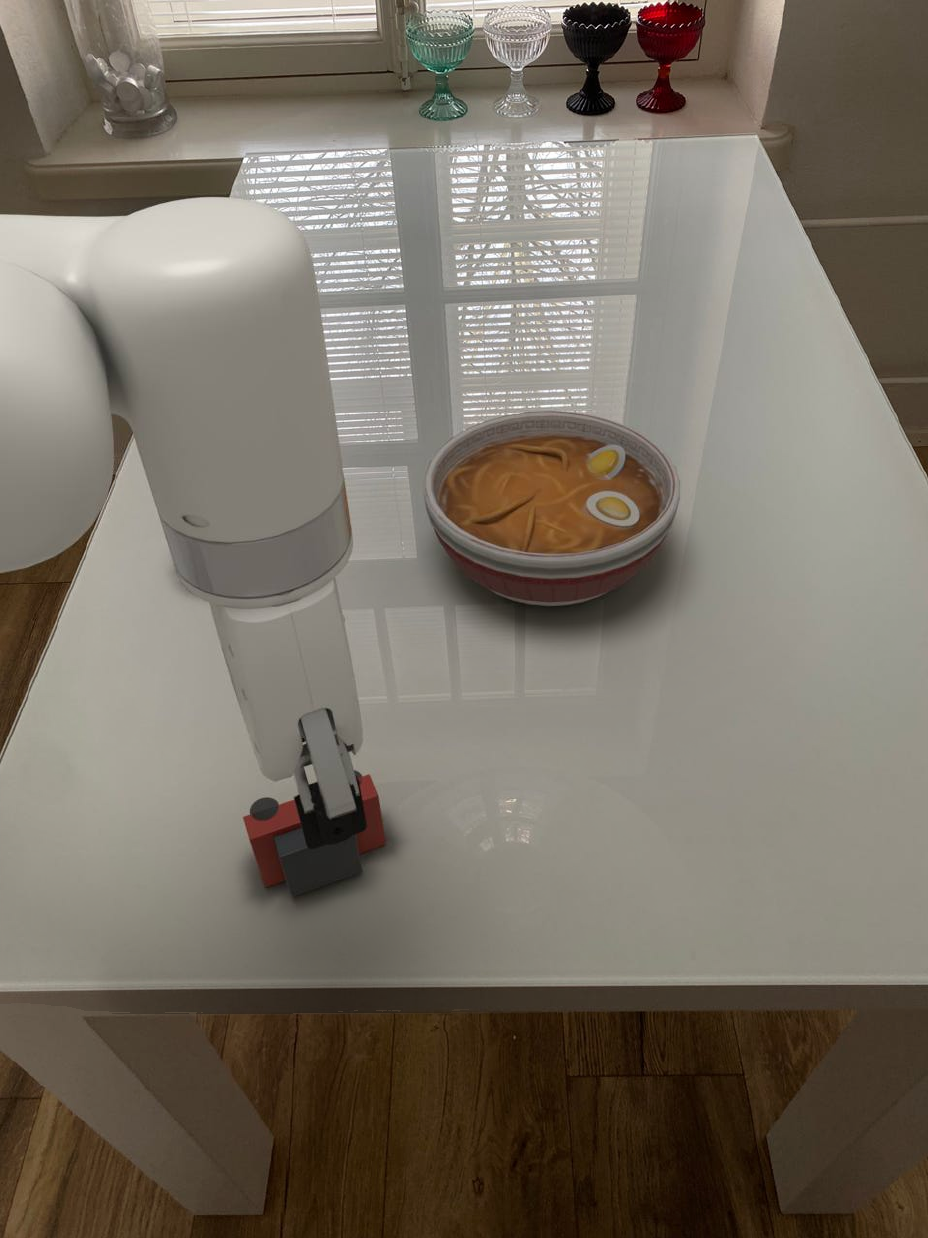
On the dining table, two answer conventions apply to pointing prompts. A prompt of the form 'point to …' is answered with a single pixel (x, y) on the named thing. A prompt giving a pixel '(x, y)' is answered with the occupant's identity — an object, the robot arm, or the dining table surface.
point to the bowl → (551, 504)
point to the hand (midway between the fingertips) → (317, 783)
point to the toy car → (287, 851)
